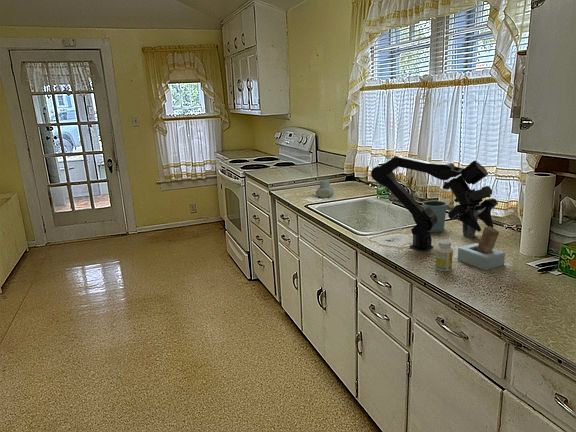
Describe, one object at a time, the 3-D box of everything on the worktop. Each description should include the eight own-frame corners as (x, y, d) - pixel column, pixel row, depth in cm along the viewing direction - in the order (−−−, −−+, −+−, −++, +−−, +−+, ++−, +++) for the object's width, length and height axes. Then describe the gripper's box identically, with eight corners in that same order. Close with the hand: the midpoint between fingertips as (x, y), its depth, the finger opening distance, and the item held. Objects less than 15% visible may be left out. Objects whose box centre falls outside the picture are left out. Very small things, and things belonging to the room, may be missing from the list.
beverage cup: (455, 234, 180) (458, 188, 175) (469, 232, 183) (472, 186, 177) (468, 239, 174) (471, 191, 168) (482, 236, 176) (485, 189, 171)
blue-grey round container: (446, 227, 191) (448, 201, 188) (444, 233, 182) (445, 206, 179) (423, 225, 195) (424, 199, 192) (420, 231, 186) (420, 205, 183)
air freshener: (334, 195, 265) (333, 179, 262) (333, 198, 257) (333, 182, 254) (316, 195, 266) (316, 179, 264) (315, 198, 259) (315, 182, 256)
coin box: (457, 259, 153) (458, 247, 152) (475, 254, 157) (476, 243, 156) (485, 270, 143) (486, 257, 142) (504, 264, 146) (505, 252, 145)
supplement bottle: (439, 272, 143) (440, 245, 141) (432, 266, 148) (433, 240, 146) (454, 270, 144) (456, 243, 141) (447, 265, 149) (448, 238, 146)
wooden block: (474, 256, 151) (484, 226, 145) (479, 255, 152) (490, 226, 146) (482, 262, 147) (493, 232, 142) (488, 261, 148) (499, 231, 143)
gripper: (456, 182, 142) (482, 221, 135) (495, 175, 150) (521, 212, 143) (437, 200, 151) (460, 238, 144) (475, 193, 158) (498, 229, 152)
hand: (486, 229), depth 145 cm, fingers open, 6 cm apart
